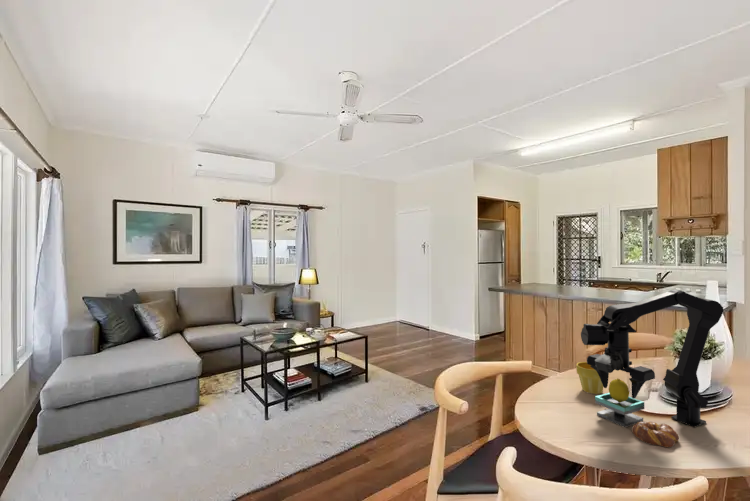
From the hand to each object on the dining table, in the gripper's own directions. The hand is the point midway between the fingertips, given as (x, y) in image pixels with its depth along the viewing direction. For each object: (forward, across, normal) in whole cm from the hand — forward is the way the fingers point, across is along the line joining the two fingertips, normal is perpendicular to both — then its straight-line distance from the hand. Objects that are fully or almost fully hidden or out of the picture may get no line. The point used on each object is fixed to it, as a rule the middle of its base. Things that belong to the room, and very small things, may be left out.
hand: (619, 392), depth 118 cm
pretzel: (+9, +12, -2) cm, 15 cm away
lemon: (+3, 0, 0) cm, 3 cm away
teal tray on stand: (+8, 0, 0) cm, 8 cm away
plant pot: (+8, -18, +12) cm, 24 cm away
